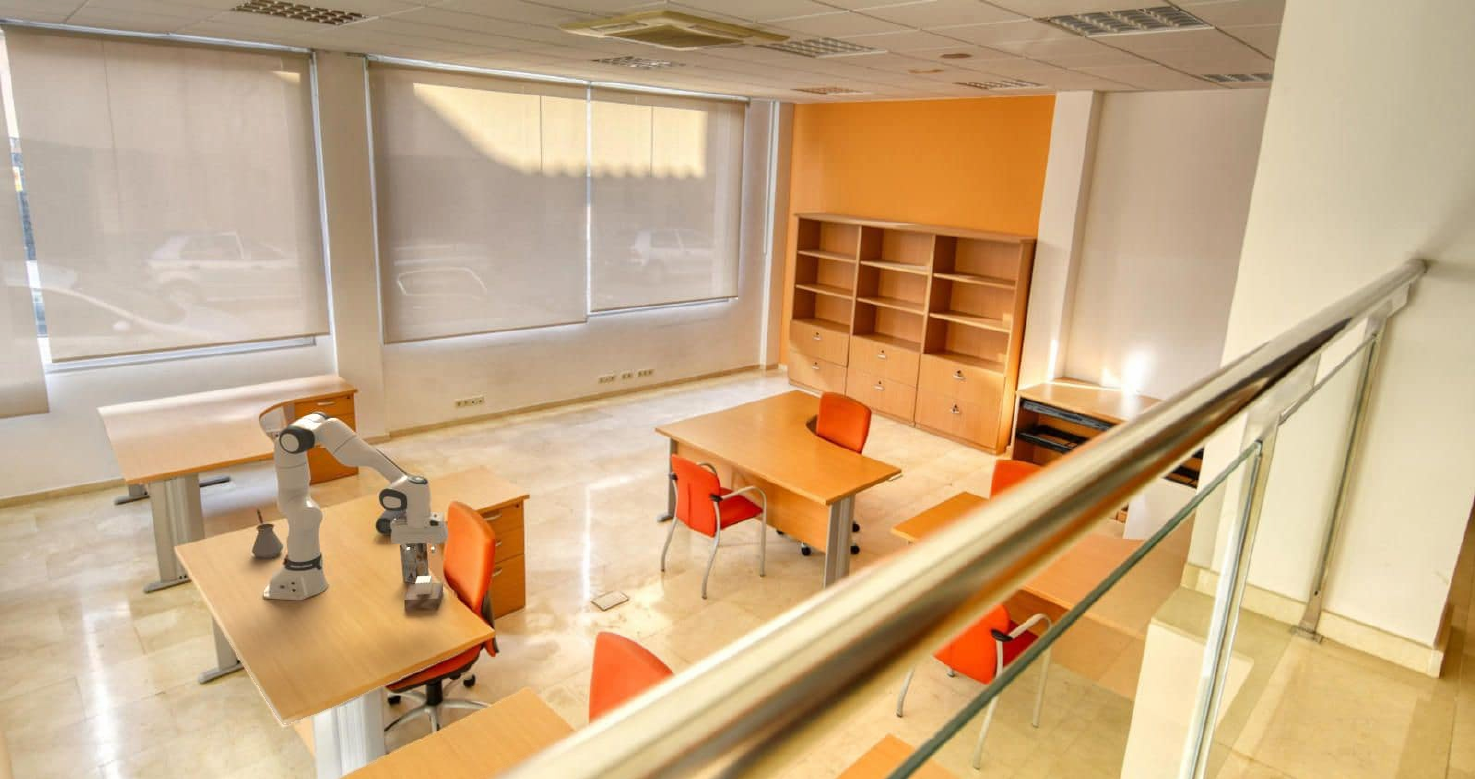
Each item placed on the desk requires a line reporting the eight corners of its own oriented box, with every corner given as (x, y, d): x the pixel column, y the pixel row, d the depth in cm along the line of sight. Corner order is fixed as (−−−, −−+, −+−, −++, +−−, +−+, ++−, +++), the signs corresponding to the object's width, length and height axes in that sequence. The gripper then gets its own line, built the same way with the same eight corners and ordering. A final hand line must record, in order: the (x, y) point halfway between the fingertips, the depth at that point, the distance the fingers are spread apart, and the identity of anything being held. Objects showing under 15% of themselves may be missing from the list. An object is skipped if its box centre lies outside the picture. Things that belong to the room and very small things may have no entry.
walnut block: (405, 611, 327) (404, 600, 326) (411, 595, 339) (410, 584, 337) (438, 610, 329) (437, 598, 328) (443, 594, 341) (442, 582, 339)
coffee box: (414, 571, 357) (412, 535, 352) (429, 573, 355) (426, 537, 351) (402, 581, 348) (399, 545, 344) (416, 583, 347) (414, 547, 342)
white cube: (416, 594, 330) (415, 582, 328) (418, 588, 335) (417, 576, 333) (430, 593, 331) (429, 582, 329) (432, 587, 335) (431, 575, 334)
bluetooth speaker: (396, 538, 384) (394, 517, 382) (375, 537, 384) (373, 516, 382) (415, 516, 406) (413, 496, 403) (395, 515, 406) (393, 495, 404)
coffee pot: (286, 556, 364) (282, 523, 360) (255, 563, 357) (251, 530, 353) (276, 537, 380) (272, 505, 376) (246, 543, 374) (242, 511, 370)
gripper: (387, 522, 320) (389, 556, 323) (445, 521, 323) (447, 556, 327) (391, 515, 326) (393, 549, 329) (448, 515, 329) (449, 548, 333)
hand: (420, 552), depth 328 cm, fingers open, 8 cm apart
